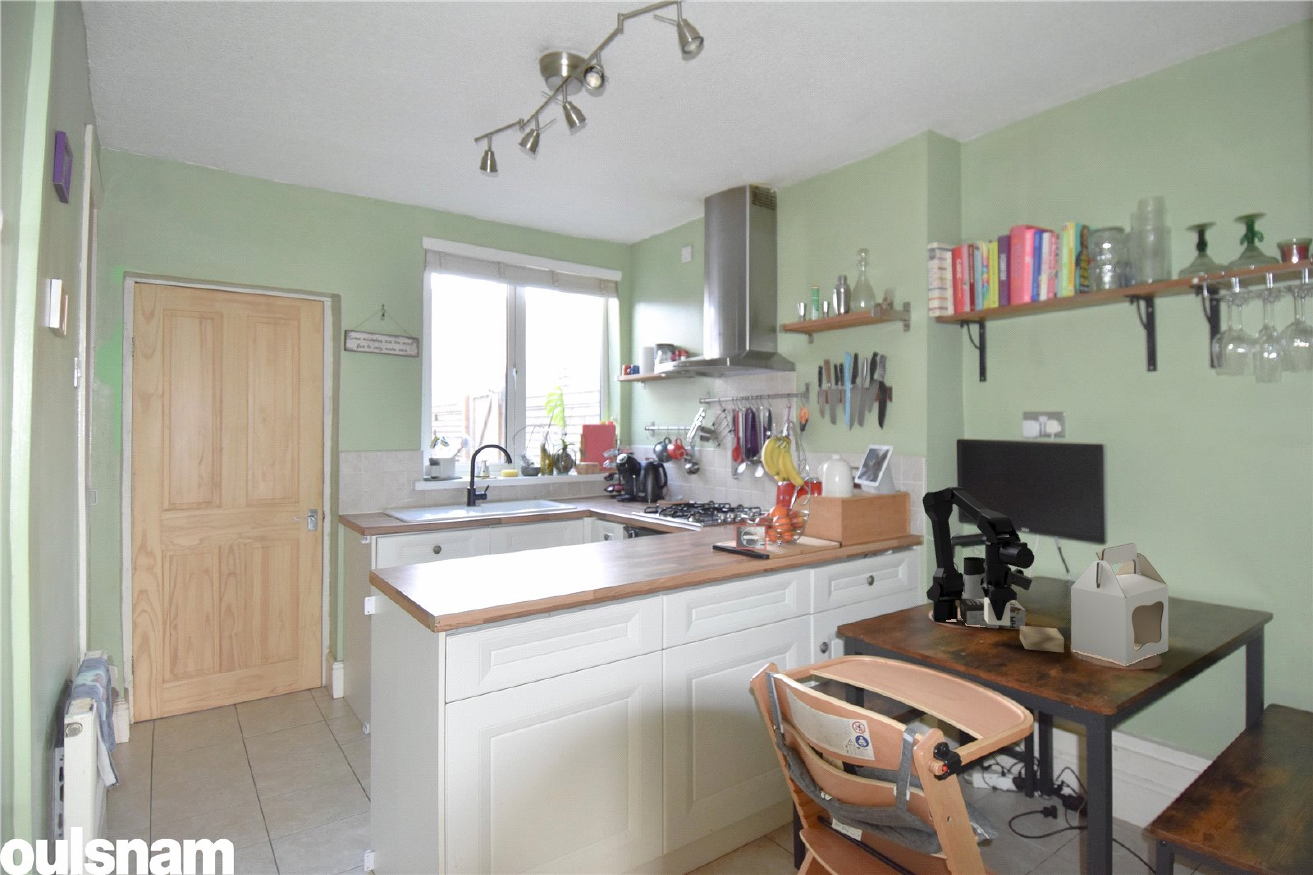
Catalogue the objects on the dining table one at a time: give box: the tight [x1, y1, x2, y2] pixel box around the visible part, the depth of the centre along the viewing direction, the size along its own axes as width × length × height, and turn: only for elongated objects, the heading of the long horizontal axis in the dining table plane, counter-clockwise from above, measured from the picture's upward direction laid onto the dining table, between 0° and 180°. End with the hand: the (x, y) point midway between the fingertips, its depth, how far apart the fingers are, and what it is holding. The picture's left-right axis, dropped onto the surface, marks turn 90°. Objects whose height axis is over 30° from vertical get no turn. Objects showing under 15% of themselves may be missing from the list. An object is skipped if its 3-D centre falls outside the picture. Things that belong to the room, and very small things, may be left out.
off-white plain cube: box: [984, 597, 1010, 626], centre depth 184 cm, size 5×5×6 cm
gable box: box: [1070, 542, 1169, 665], centre depth 176 cm, size 22×13×28 cm, turn 120°
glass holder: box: [954, 556, 985, 599], centre depth 224 cm, size 9×14×15 cm, turn 67°
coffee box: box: [959, 597, 1026, 630], centre depth 201 cm, size 9×6×16 cm
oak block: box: [1019, 625, 1065, 653], centre depth 182 cm, size 9×9×4 cm
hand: (996, 617), depth 184 cm, fingers closed on off-white plain cube, 5 cm apart
